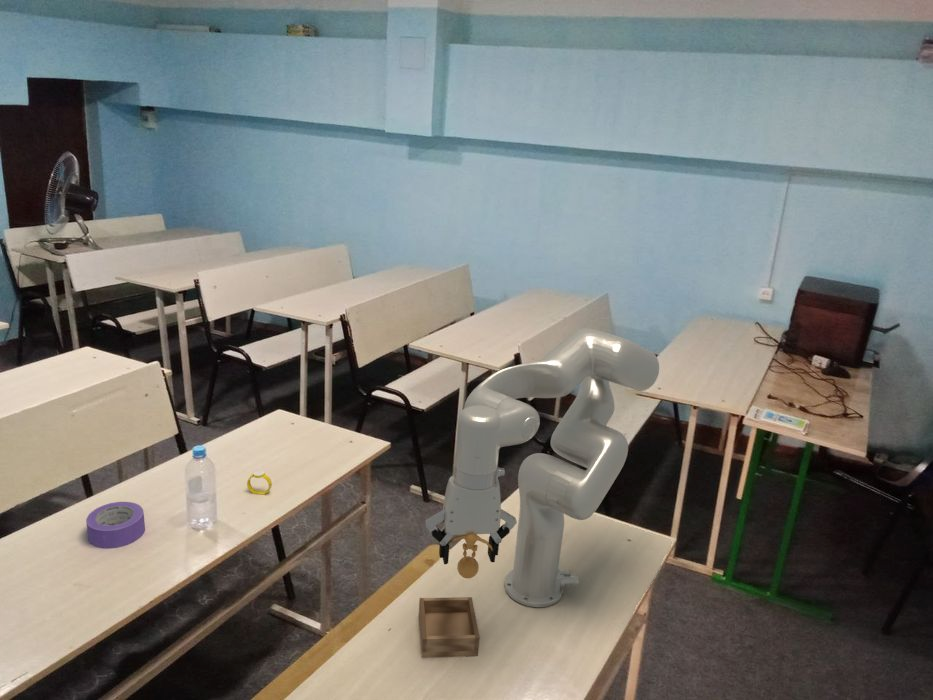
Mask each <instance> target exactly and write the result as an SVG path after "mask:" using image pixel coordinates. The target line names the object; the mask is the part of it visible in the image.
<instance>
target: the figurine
mask: <svg viewBox="0 0 933 700" xmlns="http://www.w3.org/2000/svg"><path fill="white" fill-rule="evenodd" d="M463 539H464V541H465V542H463V544H462V549H463V552H462V555H463V557H462V558H460V559H459V560H458V563H457V568H456V570H457V572H458V574H459V575H460V576H461V577H462V578H464V579H472V578H474V577H475V576H476V575H477V574H478V572H479V562H478V561H477V559H475V557H476V552H477V551H478V547H479V546H478V544H476V542H477V541H478V542H480V543H483V544H485V545H486V546H487V548H488V547H490V548H491V549H492V547H491V545H490V544H489V541H488V540H486V539H484V538H482V537H480V536H479V534H474V533H470V534H468V535H456V536H453V537H452V538H451V539H450V540H449V542H448V543H449V545H451V543H453V542H454V541H457V540H463ZM468 550H471V551H472V553H471V556H470V555H469V556H468V553H467V551H468ZM492 551H493V549H492Z"/></svg>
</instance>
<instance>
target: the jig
mask: <svg viewBox="0 0 933 700" xmlns="http://www.w3.org/2000/svg"><path fill="white" fill-rule="evenodd" d="M418 607H419V608H418V624H419V625H418V626H419V641H420V653H421V658H422V659H423V658H448V657H449V658H452V657H453V658H454V657H459V658H460V657H478V656H479V647H480V634H479V628H478V623H477V618H476V612H475V606H474V600H473V597H472V596H468V597H467V596H463V597H461V596H460V597H459V596H457V597H456V596H455V597H419V602H418Z"/></svg>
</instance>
